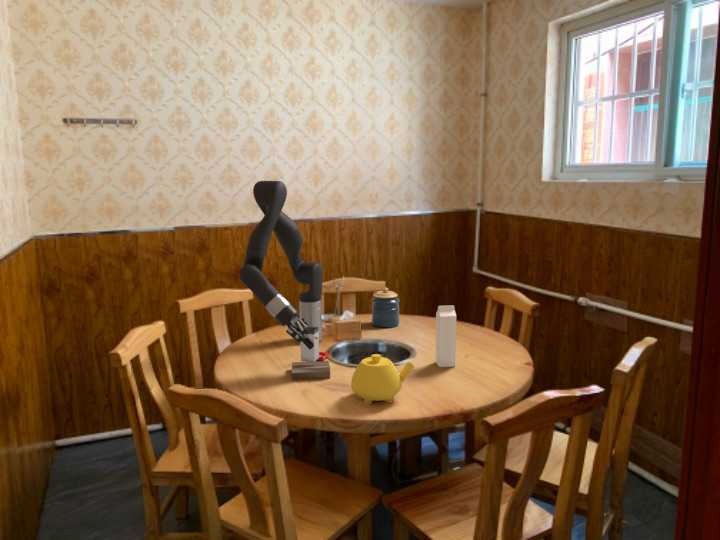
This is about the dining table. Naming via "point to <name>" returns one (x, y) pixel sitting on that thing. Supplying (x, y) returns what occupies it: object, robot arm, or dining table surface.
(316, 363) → the coupler plate
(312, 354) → the grey rectangular container
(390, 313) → the canister
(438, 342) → the milk
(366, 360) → the teapot
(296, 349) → the dining table surface
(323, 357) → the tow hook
